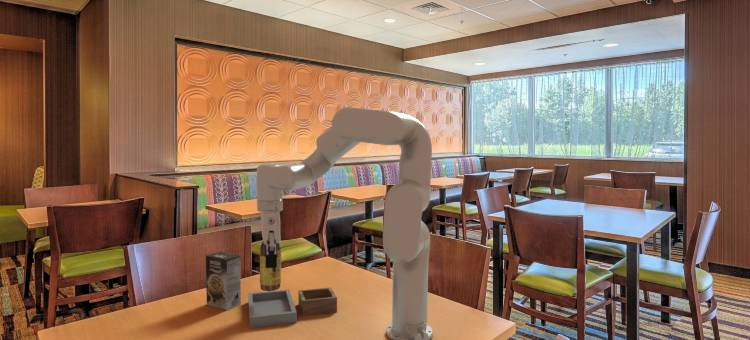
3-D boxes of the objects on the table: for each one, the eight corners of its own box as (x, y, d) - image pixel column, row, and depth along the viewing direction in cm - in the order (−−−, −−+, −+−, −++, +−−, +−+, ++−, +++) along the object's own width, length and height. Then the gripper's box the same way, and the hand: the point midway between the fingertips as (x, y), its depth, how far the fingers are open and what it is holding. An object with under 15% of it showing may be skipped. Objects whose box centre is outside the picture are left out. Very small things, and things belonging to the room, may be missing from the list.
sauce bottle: (275, 292, 130) (275, 226, 128) (256, 291, 131) (255, 225, 129) (284, 285, 136) (284, 222, 134) (265, 283, 137) (265, 221, 136)
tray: (296, 322, 126) (296, 312, 126) (249, 328, 123) (249, 317, 122) (289, 298, 146) (289, 289, 145) (248, 302, 142) (248, 293, 141)
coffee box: (205, 305, 139) (204, 255, 138) (221, 299, 144) (220, 250, 143) (226, 311, 135) (225, 259, 133) (242, 304, 140) (241, 254, 139)
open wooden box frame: (337, 311, 134) (337, 297, 134) (302, 315, 131) (302, 301, 131) (330, 300, 143) (330, 287, 143) (298, 304, 140) (298, 290, 140)
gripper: (285, 209, 124) (285, 271, 126) (280, 200, 141) (280, 255, 142) (258, 210, 122) (258, 273, 124) (255, 201, 139) (256, 257, 140)
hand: (270, 263), depth 133 cm, fingers closed on sauce bottle, 6 cm apart
